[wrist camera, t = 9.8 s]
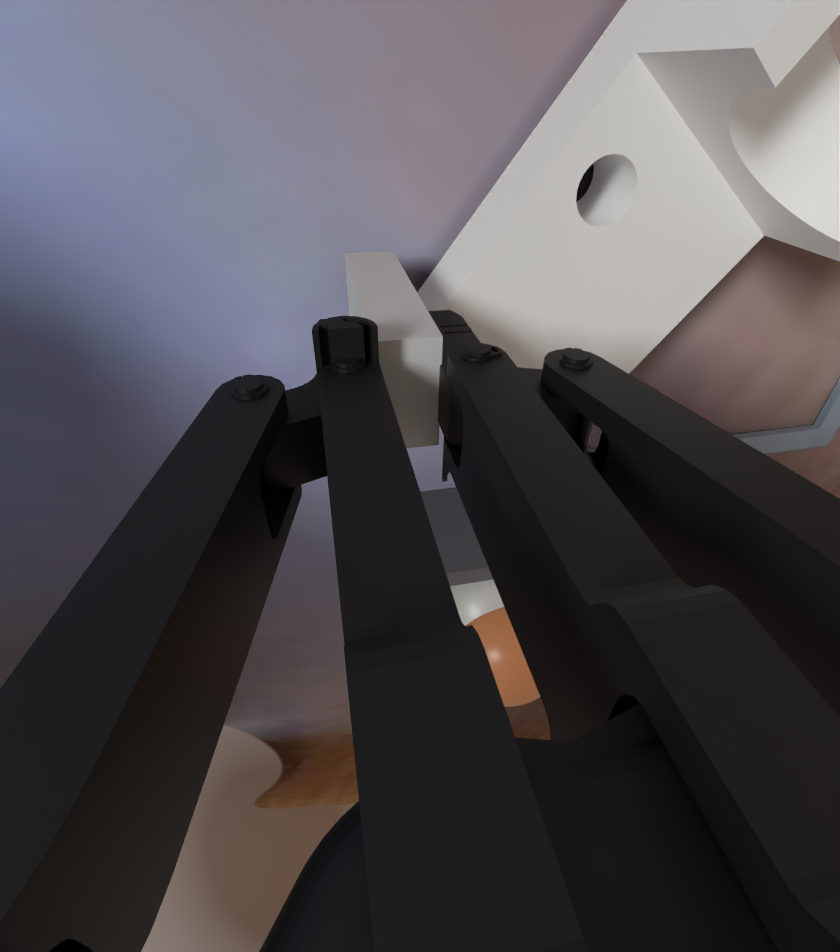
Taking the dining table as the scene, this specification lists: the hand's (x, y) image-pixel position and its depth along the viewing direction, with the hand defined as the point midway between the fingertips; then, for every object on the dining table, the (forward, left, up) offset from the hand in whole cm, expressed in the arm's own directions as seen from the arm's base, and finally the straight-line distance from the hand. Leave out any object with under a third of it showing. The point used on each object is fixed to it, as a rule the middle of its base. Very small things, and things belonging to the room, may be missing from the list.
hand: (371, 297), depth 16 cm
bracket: (+7, +1, -2) cm, 7 cm away
